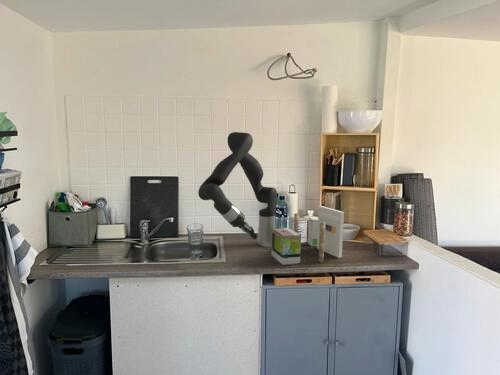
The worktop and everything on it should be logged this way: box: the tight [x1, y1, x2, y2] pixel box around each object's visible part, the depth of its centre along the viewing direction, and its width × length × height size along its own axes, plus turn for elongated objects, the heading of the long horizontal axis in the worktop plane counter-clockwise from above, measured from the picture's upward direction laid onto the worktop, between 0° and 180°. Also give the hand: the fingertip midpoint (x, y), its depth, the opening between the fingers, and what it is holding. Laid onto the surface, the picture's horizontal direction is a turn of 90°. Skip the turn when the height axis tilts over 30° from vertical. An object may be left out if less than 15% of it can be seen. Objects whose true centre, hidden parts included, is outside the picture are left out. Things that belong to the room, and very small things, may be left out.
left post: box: [293, 212, 300, 233], centre depth 204 cm, size 2×2×20 cm
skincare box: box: [307, 216, 318, 247], centre depth 214 cm, size 8×7×16 cm
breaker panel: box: [316, 205, 345, 259], centre depth 199 cm, size 18×3×24 cm, turn 28°
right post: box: [318, 222, 325, 263], centre depth 185 cm, size 2×2×20 cm
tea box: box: [271, 227, 302, 265], centre depth 188 cm, size 15×10×15 cm, turn 18°
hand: (255, 237), depth 179 cm, fingers closed
